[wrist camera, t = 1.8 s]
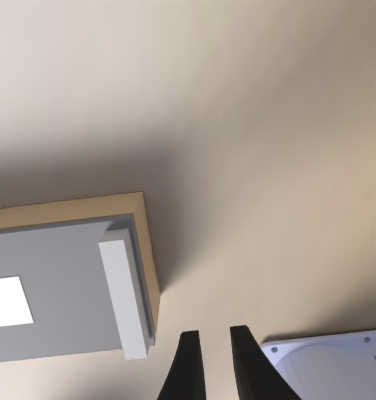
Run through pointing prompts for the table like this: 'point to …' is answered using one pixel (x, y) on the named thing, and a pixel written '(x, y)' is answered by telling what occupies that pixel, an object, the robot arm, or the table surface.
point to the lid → (73, 290)
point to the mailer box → (95, 210)
